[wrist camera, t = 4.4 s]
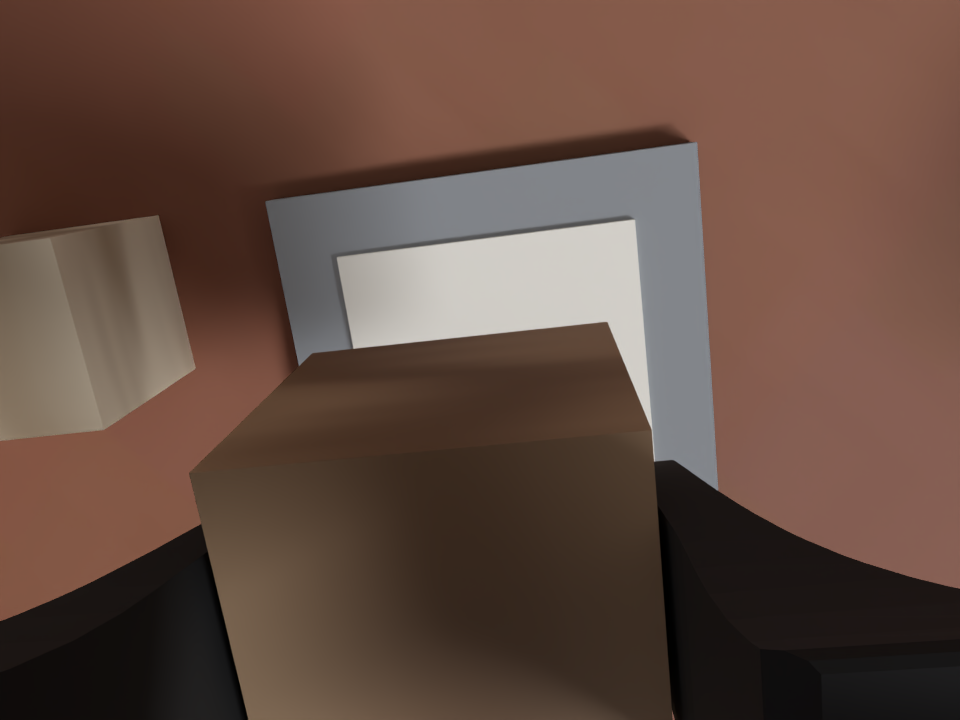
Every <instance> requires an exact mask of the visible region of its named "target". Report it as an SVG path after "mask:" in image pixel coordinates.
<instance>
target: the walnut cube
mask: <svg viewBox="0 0 960 720" xmlns="http://www.w3.org/2000/svg"><path fill="white" fill-rule="evenodd" d="M189 475H190V479H191V483H192V487H193V491H194V495H195V500H196V504H197V508H198V512H199V516H200V520H201V525H202V529H203V533H204V537H205V541H206V545H207V549H208V554H209V558H210V562H211V566H212V570H213V574H214V579H215V583H216V587H217V591H218V595H219V599H220V604H221V608H222V612H223V616H224V620H225V624H226V629H227V633H228V637H229V641H230V645H231V649H232V653H233V658H234V662H235V666H236V670H237V674H238V678H239V683H240V687H241V691H242V695H243V699H244V703H245V708H246V712H247V716H248V720H673V719H672V705H671V691H670V677H669V663H668V649H667V635H666V621H665V607H664V593H663V579H662V565H661V551H660V538H659V524H658V510H657V496H656V482H655V468H654V454H653V440H652V429H651V427H650V425H649V422H648V420H647V417H646V415H645V412H644V410H643V407H642V405H641V403H640V400H639V398H638V395H637V393H636V390H635V388H634V386H633V383H632V381H631V378H630V376H629V373H628V371H627V368H626V366H625V364H624V361H623V359H622V356H621V354H620V351H619V349H618V347H617V344H616V342H615V339H614V337H613V334H612V332H611V330H610V327H609V325H608V322H599V323H590V324H581V325H571V326H562V327H553V328H543V329H534V330H524V331H515V332H506V333H496V334H487V335H478V336H468V337H459V338H449V339H440V340H431V341H421V342H412V343H403V344H393V345H384V346H374V347H365V348H356V349H346V350H337V351H328V352H318V353H312V354H311V355H310V356H309V357H308V358H307V359H306V360H305V361H304V362H303V363H302V364H301V365H300V366H299V367H298V368H296V369H295V370H294V371H293V372H292V373H291V374H290V375H289V376H288V377H287V378H286V379H285V380H284V381H283V382H282V383H281V384H280V385H279V386H278V387H277V388H276V389H275V390H274V391H273V392H272V393H271V394H270V395H269V396H268V397H267V398H266V399H265V400H264V401H263V402H262V403H261V404H260V405H259V406H258V407H256V408H255V409H254V410H253V411H252V412H251V413H250V414H249V415H248V416H247V417H246V418H245V419H244V420H243V421H242V422H241V423H240V424H239V425H238V426H237V427H236V428H235V429H234V430H233V431H232V432H231V433H230V434H229V435H228V436H227V437H226V438H225V439H224V440H223V441H222V442H221V443H220V444H219V445H218V446H217V447H215V448H214V449H213V450H212V451H211V452H210V453H209V454H208V455H207V456H206V457H205V458H204V459H203V460H202V461H201V462H200V463H199V464H198V465H197V466H196V467H195V468H194V469H193V470H192V471H191V472H190V473H189Z"/></svg>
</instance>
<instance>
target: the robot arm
mask: <svg viewBox="0 0 960 720" xmlns="http://www.w3.org/2000/svg"><path fill="white" fill-rule="evenodd" d="M654 468H655V482H656V496H657V510H658V524H659V538H660V551H661V565H662V579H663V593H664V607H665V621H666V635H667V649H668V663H669V677H670V691H671V705H672V711H673V714H674V718H675V720H960V589H958V588H953V587H948V586H944V585H940V584H936V583H932V582H928V581H924V580H920V579H916V578H912V577H909V576H905V575H902V574H899V573H895V572H892V571H889V570H886V569H882V568H879V567H876V566H873V565H869V564H866V563H863V562H860V561H857V560H855V559H852V558H849V557H846V556H843V555H841V554H838V553H836V552H833V551H831V550H829V549H826V548H824V547H821V546H819V545H817V544H814V543H812V542H809V541H807V540H805V539H802V538H800V537H798V536H796V535H794V534H792V533H790V532H788V531H786V530H784V529H782V528H780V527H778V526H776V525H774V524H773V523H771V522H769V521H767V520H765V519H763V518H761V517H760V516H758V515H756V514H754V513H752V512H751V511H749V510H747V509H746V508H744V507H742V506H741V505H739V504H738V503H736V502H734V501H733V500H731V499H730V498H728V497H727V496H725V495H724V494H722V493H720V492H719V491H718V490H716V489H715V488H713V487H712V486H710V485H709V484H707V483H706V482H704V481H703V480H702V479H700V478H699V477H697V476H696V475H695V474H693V473H692V472H690V471H689V470H688V469H686V468H685V467H683V466H682V465H681V464H679V463H678V462H676V461H674V460H666V461H655V462H654ZM0 720H248V716H247V712H246V708H245V703H244V699H243V695H242V691H241V687H240V683H239V678H238V674H237V670H236V666H235V662H234V658H233V653H232V649H231V645H230V641H229V637H228V633H227V629H226V624H225V620H224V616H223V612H222V608H221V604H220V599H219V595H218V591H217V587H216V583H215V579H214V574H213V570H212V566H211V562H210V558H209V554H208V549H207V545H206V541H205V537H204V533H203V529H202V525H199V526H197V527H195V528H193V529H191V530H190V531H188V532H186V533H184V534H182V535H180V536H179V537H177V538H175V539H173V540H171V541H170V542H168V543H166V544H164V545H162V546H161V547H159V548H157V549H155V550H153V551H151V552H149V553H147V554H146V555H144V556H142V557H140V558H138V559H136V560H134V561H132V562H130V563H128V564H126V565H124V566H122V567H120V568H118V569H116V570H114V571H113V572H111V573H109V574H107V575H105V576H103V577H101V578H99V579H97V580H95V581H93V582H91V583H89V584H87V585H85V586H83V587H80V588H78V589H76V590H74V591H72V592H70V593H67V594H65V595H63V596H61V597H59V598H56V599H54V600H52V601H49V602H47V603H44V604H42V605H40V606H37V607H35V608H33V609H30V610H28V611H25V612H23V613H21V614H18V615H16V616H13V617H10V618H8V619H5V620H3V621H0Z"/></svg>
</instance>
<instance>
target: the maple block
mask: <svg viewBox="0 0 960 720" xmlns="http://www.w3.org/2000/svg"><path fill="white" fill-rule="evenodd" d="M194 369H196V368H195V364H194V359H193V355H192V351H191V347H190V343H189V339H188V335H187V330H186V326H185V322H184V318H183V314H182V310H181V306H180V302H179V297H178V293H177V289H176V285H175V281H174V277H173V273H172V269H171V264H170V260H169V256H168V252H167V248H166V244H165V240H164V235H163V231H162V227H161V223H160V219H159V215H156V216H149V217H142V218H135V219H127V220H120V221H113V222H106V223H98V224H91V225H84V226H77V227H69V228H62V229H55V230H48V231H40V232H33V233H26V234H19V235H11V236H6V237H1V238H0V441H3V440H12V439H22V438H31V437H41V436H50V435H60V434H69V433H79V432H88V431H98V430H105V429H106V428H108V427H109V426H111V425H112V424H114V423H115V422H117V421H118V420H120V419H121V418H123V417H124V416H126V415H127V414H129V413H130V412H132V411H133V410H135V409H136V408H138V407H139V406H141V405H142V404H144V403H145V402H147V401H148V400H150V399H151V398H153V397H154V396H156V395H157V394H159V393H160V392H162V391H163V390H164V389H166V388H167V387H169V386H170V385H172V384H173V383H175V382H176V381H178V380H179V379H181V378H182V377H184V376H185V375H187V374H188V373H190V372H191V371H193V370H194Z"/></svg>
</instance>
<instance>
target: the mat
mask: <svg viewBox="0 0 960 720" xmlns="http://www.w3.org/2000/svg"><path fill="white" fill-rule="evenodd" d="M265 203H266V208H267V213H268V218H269V222H270V227H271V232H272V237H273V242H274V247H275V252H276V257H277V261H278V266H279V271H280V276H281V281H282V286H283V291H284V296H285V300H286V305H287V310H288V315H289V320H290V325H291V330H292V335H293V340H294V344H295V349H296V354H297V359H298V364H299V366H300V365H301V364H302V363H303V362H304V361H305V360H306V359H307V358H308V357H309V356H310V355H311V354H312V353H318V352H328V351H337V350H346V349H356V348H365V347H374V346H384V345H393V344H403V343H412V342H421V341H431V340H440V339H449V338H459V337H468V336H478V335H487V334H496V333H506V332H515V331H524V330H534V329H543V328H553V327H562V326H571V325H581V324H590V323H599V322H608V325H609V327H610V330H611V332H612V334H613V337H614V339H615V342H616V344H617V347H618V349H619V351H620V354H621V356H622V359H623V361H624V364H625V366H626V368H627V371H628V373H629V376H630V378H631V381H632V383H633V386H634V388H635V390H636V393H637V395H638V398H639V400H640V403H641V405H642V407H643V410H644V412H645V415H646V417H647V420H648V422H649V425H650V427H651V429H652V440H653V454H654V462H655V461H666V460H674V461H676V462H678V463H679V464H681V465H682V466H683V467H685V468H686V469H688V470H689V471H690V472H692V473H693V474H695V475H696V476H697V477H699V478H700V479H702V480H703V481H704V482H706V483H707V484H709V485H710V486H712V487H713V488H715V489H716V490H718V479H717V463H716V446H715V430H714V413H713V397H712V380H711V364H710V347H709V331H708V314H707V298H706V281H705V265H704V248H703V232H702V215H701V199H700V183H699V166H698V150H697V142H689V143H682V144H675V145H667V146H660V147H653V148H646V149H638V150H631V151H624V152H616V153H609V154H602V155H595V156H587V157H580V158H573V159H565V160H558V161H551V162H544V163H536V164H529V165H522V166H514V167H507V168H500V169H492V170H485V171H478V172H471V173H463V174H456V175H449V176H441V177H434V178H427V179H420V180H412V181H405V182H398V183H390V184H383V185H376V186H369V187H361V188H354V189H347V190H339V191H332V192H325V193H318V194H310V195H303V196H296V197H288V198H281V199H274V200H270V201H265Z"/></svg>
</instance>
